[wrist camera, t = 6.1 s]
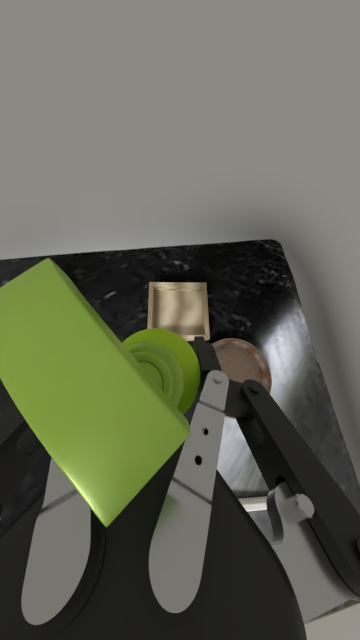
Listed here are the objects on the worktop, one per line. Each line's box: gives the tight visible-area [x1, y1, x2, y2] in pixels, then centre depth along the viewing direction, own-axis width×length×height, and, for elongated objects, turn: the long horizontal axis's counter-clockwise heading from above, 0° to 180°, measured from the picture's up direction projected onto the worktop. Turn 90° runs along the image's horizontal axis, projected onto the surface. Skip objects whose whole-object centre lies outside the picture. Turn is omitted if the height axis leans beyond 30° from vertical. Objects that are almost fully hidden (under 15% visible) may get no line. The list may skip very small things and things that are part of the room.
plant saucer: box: [201, 338, 272, 419], centre depth 36 cm, size 18×18×3 cm
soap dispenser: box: [0, 258, 200, 527], centre depth 12 cm, size 6×7×20 cm
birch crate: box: [148, 282, 210, 341], centre depth 39 cm, size 15×15×4 cm
